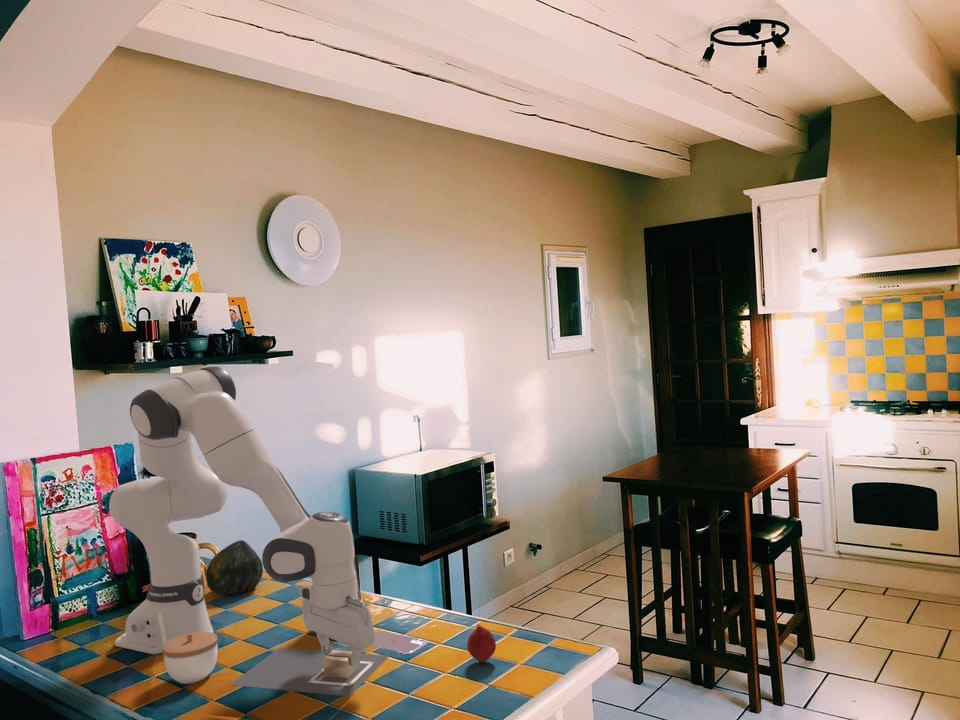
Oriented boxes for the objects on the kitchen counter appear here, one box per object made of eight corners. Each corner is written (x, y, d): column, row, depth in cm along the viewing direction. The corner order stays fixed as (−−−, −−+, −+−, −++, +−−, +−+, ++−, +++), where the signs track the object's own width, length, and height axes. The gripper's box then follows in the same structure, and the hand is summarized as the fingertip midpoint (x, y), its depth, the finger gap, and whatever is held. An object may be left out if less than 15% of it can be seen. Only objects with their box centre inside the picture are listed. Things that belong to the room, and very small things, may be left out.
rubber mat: (229, 686, 151) (229, 684, 151) (280, 649, 168) (280, 647, 168) (349, 698, 142) (349, 695, 142) (389, 657, 160) (389, 655, 160)
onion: (500, 657, 156) (497, 619, 156) (491, 669, 150) (488, 630, 150) (474, 655, 158) (471, 617, 157) (464, 667, 152) (461, 628, 152)
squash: (192, 574, 212) (209, 538, 206) (239, 561, 224) (256, 527, 217) (213, 614, 206) (232, 579, 199) (261, 599, 217) (279, 565, 210)
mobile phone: (376, 629, 174) (429, 639, 166) (376, 633, 174) (430, 643, 166) (355, 642, 168) (409, 652, 160) (355, 646, 168) (409, 657, 160)
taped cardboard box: (324, 676, 152) (322, 658, 152) (334, 666, 156) (333, 649, 156) (348, 678, 150) (347, 660, 150) (358, 668, 154) (357, 650, 154)
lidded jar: (189, 694, 149) (185, 647, 149) (154, 685, 154) (150, 640, 154) (231, 671, 158) (227, 627, 158) (196, 663, 164) (193, 621, 163)
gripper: (379, 597, 147) (384, 666, 148) (320, 579, 162) (325, 642, 162) (353, 607, 143) (358, 679, 143) (295, 587, 157) (300, 652, 158)
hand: (340, 659), depth 153 cm, fingers open, 8 cm apart
